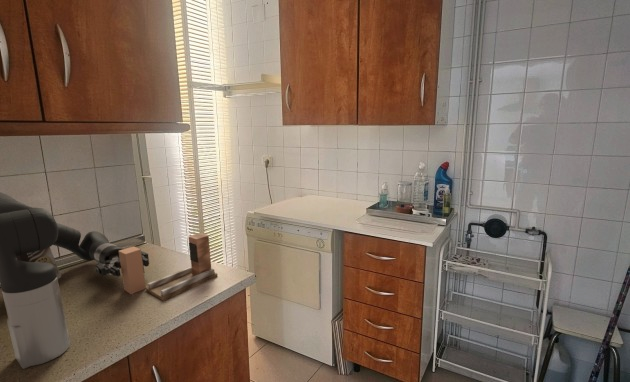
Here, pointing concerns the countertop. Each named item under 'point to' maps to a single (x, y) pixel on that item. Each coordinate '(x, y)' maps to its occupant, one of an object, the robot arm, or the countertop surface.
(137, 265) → the block
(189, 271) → the rail base
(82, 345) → the countertop surface
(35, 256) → the coffee box
